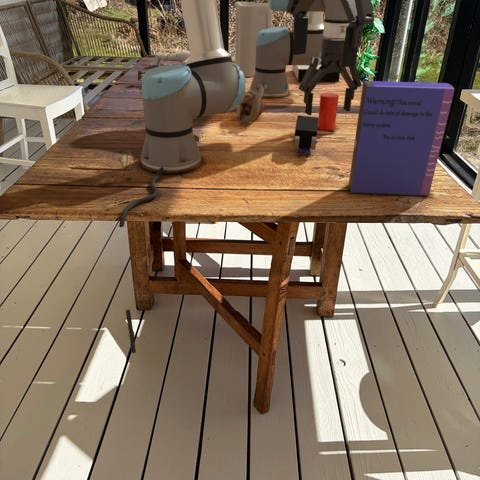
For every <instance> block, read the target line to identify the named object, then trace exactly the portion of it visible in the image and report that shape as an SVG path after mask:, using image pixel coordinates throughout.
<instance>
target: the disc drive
mask: <svg viewBox="0 0 480 480" xmlns="http://www.w3.org/2000/svg"><path fill="white" fill-rule="evenodd" d="M320 66H321V65H318V66H317V69H316V71H315V73H314V75H315V74H316V73H317V71H318V69H319V67H320ZM308 67H309V65H292V72H293V74H294V75H295V77H296V79H297V82H302V80H303V78H304V76H305V74H306V72H307V70H308ZM323 70H324V69H323ZM314 75H313V76H314ZM340 75H341V74H340V72H337V73H336V72H333V73H328V72H327V74H326V75H324V76H323V77H322V79H321V80H320V81H319V82H324V83H325V82H340ZM312 78H313V77H312Z"/></svg>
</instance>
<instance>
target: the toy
mask: <svg viewBox="0 0 480 480" xmlns="http://www.w3.org/2000/svg"><path fill="white" fill-rule="evenodd" d="M189 58H190V50H183V51H177V52H172V53H170V52H168V51H167V52H166V51H164V52H163V51H158V52H155V54H154V61H153V62H154V63H153V64H154V67H159V66H158V64H162V63H163V62H167V61H168V62H180V64H181V65H186V63H187V61H188V59H189Z"/></svg>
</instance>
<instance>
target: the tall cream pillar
mask: <svg viewBox="0 0 480 480" xmlns="http://www.w3.org/2000/svg"><path fill="white" fill-rule="evenodd" d="M273 11H274V10H271V9H270V6H269V2H267V3H266V2H265V3H264V2H252V1H235V59H234V60H235V62H234V64H235V65H238V66H239V67H240V68H241V71H242V72H243V74H244V77H245V78H253V77H254V74H255V60H256V46H255V44H256V36H257V33H258V32H259V31H261V30H264V29H269V28H273Z"/></svg>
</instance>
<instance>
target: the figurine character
mask: <svg viewBox="0 0 480 480" xmlns="http://www.w3.org/2000/svg"><path fill="white" fill-rule="evenodd" d="M318 130H319V129H318V117H317V116H309V115H308V116H306V115H297V117H296V122H295V129H294V137H293V140H292V142H293V144H292V146H293V149H294V150H297V155H299V156H300V155H301V152H307V155H308V156H311V154H312V151H316V147H317V144H318V140H317V139H318Z"/></svg>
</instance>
